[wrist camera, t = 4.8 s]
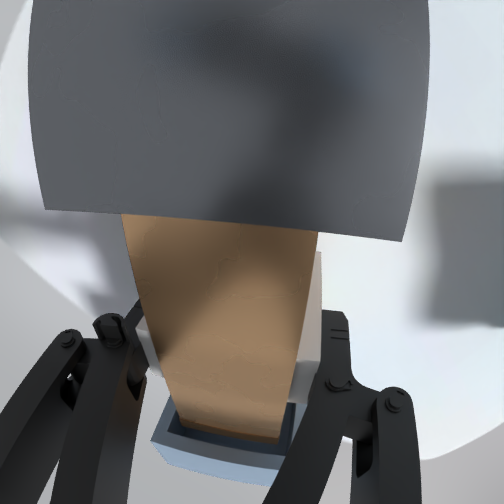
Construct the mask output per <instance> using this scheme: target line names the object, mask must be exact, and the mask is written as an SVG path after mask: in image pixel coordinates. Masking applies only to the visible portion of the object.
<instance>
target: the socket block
mask: <svg viewBox="0 0 504 504" xmlns="http://www.w3.org/2000/svg"><path fill="white" fill-rule="evenodd" d="M307 401H308V400H307ZM306 407H307V403H306V404H301V403H292V402H287V404H286V408H285V412H284V416H283V420H282V424H281V430H280V436H279V441H278V444H277V445H275V444H268V443H261V442H254V441H248V440H243V439H237V438H232V437H227V436H222V435H217V434H213V433H208V432H204V431H200V430H196V429H192V428H188V427H185V426H182V425H181V422H180V420H179V418H180V416H179V414H178V412H177V409H176V407H175V404H174V402H173V399H172V396H171V394H170V397H169V399H168V401H167V403H166V406H165V408H164V410H163V413H162V415H161V417H160V420H159V422H158V424H157V426H156V429H155V431H154V433H153V436H152V438H151V440H150V441H151V443H152V444H153V445H154V447H155V448H156V449H157V450H158V452H159V453H160V454H161V455H162V457H163V458H164V459H165V461H166V462H167V463H168V464H170V465H173V466H177V467H180V468H184V469H187V470H191V471H194V472H198V473H202V474H206V475H210V476H215V477H219V478H223V479H228V480H234V481H239V482H244V483H250V484H257V485H263V486H272V484H273V482H274V480H275V478H276V476H277V473H278V471H279V469H280V467H281V465H282V463H283V461H284V459H285V457H286V454H287V452H288V450H289V448H290V445H291V443H292V441H293V439H294V436H295V434H296V432H297V429H298V427H299V425H300V422H301V420H302V417H303V415H304V412H305V410H306Z"/></svg>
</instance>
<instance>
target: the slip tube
mask: <svg viewBox="0 0 504 504" xmlns="http://www.w3.org/2000/svg"><path fill="white" fill-rule="evenodd" d="M121 217H122V223H123V228H124V233H125V238H126V243H127V248H128V252H129V257H130V261H131V266H132V270H133V274H134V278H135V282H136V286H137V290H138V294H139V298H140V302H141V305H142V309H143V312H144V316H145V319H146V323H147V326H148V330H149V333H150V336H151V339H152V342H153V346H154V349H155V352H156V355H157V358H158V361H159V364H160V366H161V369H162V372H163V375H164V378H165V380H166V383H167V386H168V389H169V391H170V394H171V396H172V399H173V402H174V404H175V407H176V409H177V412H178V414H179V416H180V418H179V420H180V422H181V425H182V426H185V427H188V428H192V429H196V430H200V431H204V432H208V433H213V434H217V435H222V436H227V437H232V438H237V439H243V440H248V441H254V442H261V443H268V444H275V445H277V444H278V441H279V436H280V430H281V424H282V420H283V416H284V412H285V408H286V404H287V400H288V395H289V391H290V387H291V382H292V378H293V373H294V368H295V364H296V359H297V354H298V349H299V344H300V339H301V334H302V329H303V323H304V318H305V313H306V307H307V301H308V296H309V290H310V284H311V277H312V271H313V265H314V258H315V251H316V245H317V237H318V232H317V231H308V230H299V229H290V228H280V227H271V226H261V225H251V224H240V223H230V222H219V221H207V220H196V219H184V218H171V217H158V216H145V215H130V214H121Z"/></svg>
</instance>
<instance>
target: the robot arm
mask: <svg viewBox="0 0 504 504" xmlns="http://www.w3.org/2000/svg"><path fill="white" fill-rule="evenodd" d="M93 327H94V329H95V331H96V334H97V336H98V339H91V338H83V337H82V335H81V333H80V332H79V331H77V330H74V329H69V330H65V331H63V332H61V333H60V334H59V335H58V336H57V337H56V338H55V339H54V340H53V342H52V343H51V344H50V345H49V347H48V348H47V349H46V351H45V352H44V353H43V354H42V356H41V357H40V358H39V360H38V361H37V363H36V364H35V365H34V366H33V368H32V369H31V370H30V372H29V373H28V374H27V376H26V377H25V379H24V380H23V381H22V383H21V384H20V385H19V387H18V388H17V390H16V391H15V393H14V394H13V396H12V397H11V399H10V400H9V401H8V403H7V405H6V406H5V407H4V409H3V411H2V412H1V414H0V504H37V502H38V500H39V498H40V496H41V494H42V492H43V490H44V488H45V486H46V483H47V482H48V480H49V478H50V475H51V474H52V472H53V470H54V468H55V466H56V464H57V462H58V460H59V459H60V460H59V464H58V468H57V472H56V477H55V481H54V486H53V491H52V496H51V501H50V504H127V497H128V488H129V481H130V473H131V467H132V459H133V453H134V447H135V441H136V435H137V430H138V424H139V419H140V413H141V407H142V403H143V398H144V393H145V388H146V384H147V378H146V375H145V373H146V371H147V369H148V367H149V368H150V370H151V373H152V374H153V375H156V376H160V377H164V375H163V372H162V369H161V366H160V364H159V361H158V358H157V355H156V352H155V349H154V346H153V342H152V339H151V336H150V333H149V330H148V326H147V323H146V319H145V316H144V312H143V309H142V305H141V302H140V298H139V299H138V301H137V302H136V303H135V305H134V307H133V308H132V309H131V310H130V312H129V313H128V315H127V316H126V317H125V319H123V317H122V316H120V315H119V314H115V313H108V314H104V315H102V316H100V317H98V318H97V319H96V320H95V321H94V323H93ZM70 373H71V376H70V377H69V378H67V377H68V375H69V374H70ZM307 400H308V401H307ZM287 402H292V403H301V404H306V403H307V407H306V410H305V412H304V415H303V417H302V420H301V422H300V425H299V427H298V429H297V432H296V434H295V436H294V439H293V441H292V443H291V445H290V448H289V450H288V452H287V454H286V457H285V459H284V461H283V463H282V465H281V467H280V469H279V471H278V473H277V476H276V478H275V480H274V482H273V484H272V486H271V488H270V490H269V492H268V493H267V496H266V497H265V500H264V501H263V503H262V504H318V503H319V501H320V499H321V496H322V493H323V491H324V488H325V486H326V483H327V481H328V478H329V475H330V472H331V470H332V467H333V464H334V461H335V458H336V455H337V452H338V449H339V446H340V443H341V440H342V437H343V436H345V437H348V438H351V439H353V447H352V448H353V451H352V477H351V494H350V504H422V497H421V496H422V495H421V473H420V459H419V448H418V438H417V430H416V422H415V415H414V408H413V402H412V399H411V397H410V395H409V394H408V393H407V392H406V391H405V390H403V389H401V388H398V387H388V388H385V389H384V390H382V391H381V392H379V391H376V390H373V389H370V388H367V387H365V386H363V385H361V384H360V383H359V382H358V381H357V380H356V379H355V378H354V376H353V374H352V370H351V355H350V341H349V326H348V320H347V318H346V317H345V315H344V313H343V312H340V311H331V310H322V278H321V252H317V251H315V258H314V265H313V271H312V277H311V284H310V290H309V296H308V301H307V307H306V313H305V318H304V323H303V329H302V334H301V339H300V344H299V349H298V354H297V359H296V364H295V368H294V373H293V378H292V382H291V387H290V391H289V395H288V400H287Z"/></svg>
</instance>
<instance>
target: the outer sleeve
mask: <svg viewBox="0 0 504 504" xmlns="http://www.w3.org/2000/svg"><path fill="white" fill-rule="evenodd" d="M429 61H430V32H429V10H428V0H33V7H32V14H31V23H30V34H29V50H28V95H29V112H30V124H31V133H32V141H33V149H34V156H35V162H36V168H37V173H38V179H39V184H40V189H41V193H42V198H43V202H44V206H45V210H62V211H82V212H99V213H115V214H130V215H145V216H158V217H171V218H184V219H196V220H207V221H219V222H230V223H240V224H251V225H261V226H271V227H280V228H290V229H299V230H308V231H317V232H326V233H334V234H343V235H351V236H359V237H367V238H375V239H383V240H390V241H398V242H402V239H403V235H404V231H405V227H406V224H407V220H408V215H409V211H410V207H411V202H412V198H413V193H414V189H415V184H416V178H417V173H418V168H419V162H420V156H421V150H422V143H423V136H424V128H425V119H426V110H427V99H428V84H429Z"/></svg>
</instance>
